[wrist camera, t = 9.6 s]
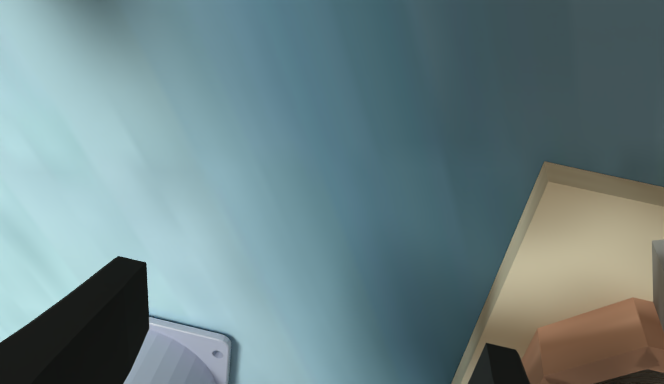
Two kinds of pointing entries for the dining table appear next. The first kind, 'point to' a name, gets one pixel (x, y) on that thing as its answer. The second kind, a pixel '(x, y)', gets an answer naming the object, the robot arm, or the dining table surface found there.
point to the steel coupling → (637, 378)
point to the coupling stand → (579, 282)
